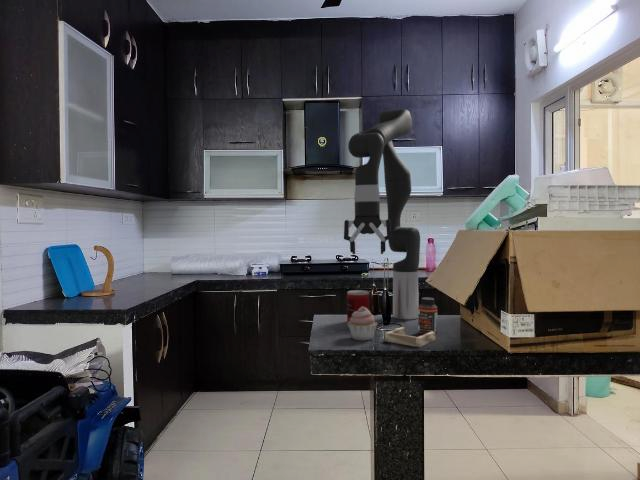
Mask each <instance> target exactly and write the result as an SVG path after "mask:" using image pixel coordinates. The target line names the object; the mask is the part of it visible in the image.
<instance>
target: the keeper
mask: <svg viewBox="0 0 640 480" xmlns="http://www.w3.org/2000/svg"><path fill="white" fill-rule="evenodd" d="M386 341H387V343H394V344H397V345H398V344H399V345H405V346H411V347H417V348H421V347H423V346H425V345H427V344H430V343H431V342H432V343H433V342H434V341H436V334H435V332H433V331H431V332H429V333H427V334H424V335H422V334H421V335H419V336H414V335H408V334H406V327H404V326H403V327H402V326H401V327H398V328H395V329H393V330H390V331H386V332H385V333H384V342H386Z"/></svg>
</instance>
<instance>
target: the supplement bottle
mask: <svg viewBox="0 0 640 480" xmlns="http://www.w3.org/2000/svg"><path fill="white" fill-rule="evenodd" d="M417 330H418V331H417V332H418V334H420V335H421V336H422V335H424V334H427V333H429V332H431V331H433V332H435V335H436V334H437V333H438V305H436V304H435V298H433V297H427V296H426V297H422V298H421V304H419V307H418V318H417Z"/></svg>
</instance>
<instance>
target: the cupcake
mask: <svg viewBox="0 0 640 480" xmlns="http://www.w3.org/2000/svg"><path fill="white" fill-rule="evenodd" d="M346 324H347V326H348V328H349V331H350V335H351V338H352V339H353V340H355V341H361V342H367V340H368V341H371V340H373V338H374V335H375V330H376V328H377V326H378V322H376V321H375V316H374V315H373V314H372V313H371V311H370V309H369V310H368V309H367V308H365V307H363V306H362V307H361V308H359V309H358V311H356V312H353V314H352V316H351V318H350V322H348V321H347V323H346Z"/></svg>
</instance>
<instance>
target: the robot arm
mask: <svg viewBox="0 0 640 480" xmlns="http://www.w3.org/2000/svg"><path fill="white" fill-rule="evenodd" d="M411 115H412V114H411V112H410V111H409V110H408V109H406V108H398V109H391V110H389V109H388V110H384V111H383V110H382V111H381V112H380V113H379V114H378V119H377V121H378V123H376V124H375V125H373V126H372V127H371V128H369V129H367V130H363V131H360V132H357V133H355V134H353V135H351V137H350V139H349V141H348V144H347V145H348V146H347V148H348V152H349V153H350V155H351V156H353V157H354V158H357V159H358V158H359V159H362V158H369V159H368V161H367V162H366V163H364V164H360V165H357V166H356V167H355V169H354V180H355V181H354V184H355V185H354V197H353V198H354V199H353V200H354V219H353V220H349V219H346V220H344V225H343V239H344V240H345V241H348V242H349V251H350V253H352V255H356V242H355V240H356V239H357V237H358V236H359V234H362V235H366V234H368V235H373V234H376V236H377V237H378V238H379V239H380V255H383V254H384V253H385V252H386V250H387V249H386V242H388V246H389V248H390V251H392V252H394V253H406V254H405V257H404V258H403V259H401V260H398V261H397V262H394V263H393V264H392V317H393V318H394V319H397V320H416V319H418V307H419V305H420V304H419V301H420V300H419V296H420V292H419V266H420V251H421V247H420V246H421V234H420V230H419V229H418V228H416V227H410V226H409V227H406V226H405V227H403V226H402V227H401V217H402V212H403V209H404V208H405V206H406V204H407V203H408V201H409V198H410V196H411V194H412V179H411V172H410V169H409V168H408V166H407V165H406V164H405V162H404V161H403V160H402V158H401V157H400V156H399V154H398V153H397V151H396V149H395V146H394V143H393V140H395V139H397V138H399V137H403V136H406V135H408V134H409V133H411V130H412V127H413V120H412V116H411ZM382 158H383V159H382ZM381 160H383V170H384V172H383V173H384V184H385V185H384V187H385V196H386V205H387V219H381V213H380V212H381V205H380V204H381V203H380V198H381V197H380V186H379V171H380V164H381ZM352 225H353V226H354V227H355V228H356V230H355V231H354V233H353V234H352V236H349V234H350V228H351V227H352ZM381 225H383V227H384V228H386V235H385V236H384V235H383V233H382V232H381V231H380V229H379V228H380V226H381Z"/></svg>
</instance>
